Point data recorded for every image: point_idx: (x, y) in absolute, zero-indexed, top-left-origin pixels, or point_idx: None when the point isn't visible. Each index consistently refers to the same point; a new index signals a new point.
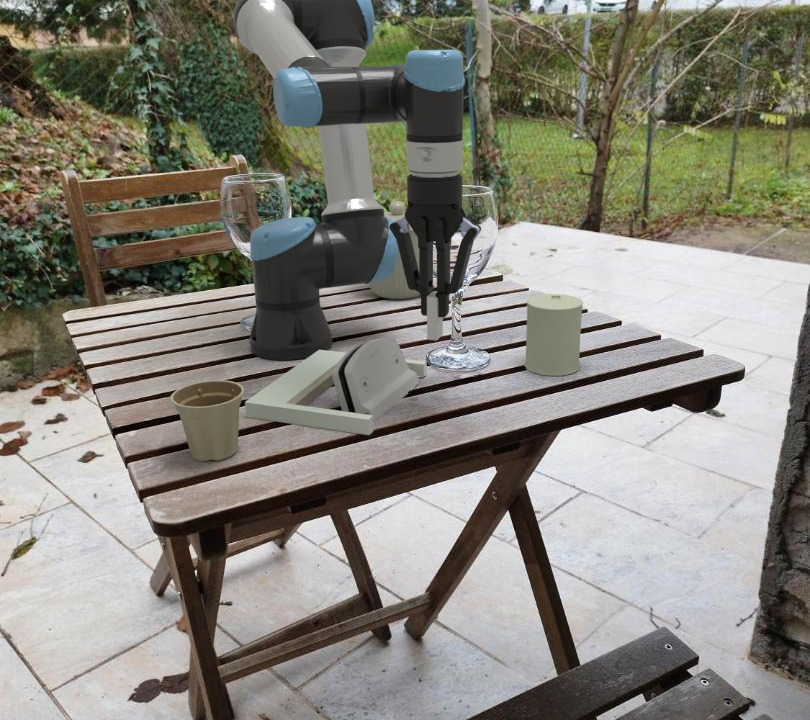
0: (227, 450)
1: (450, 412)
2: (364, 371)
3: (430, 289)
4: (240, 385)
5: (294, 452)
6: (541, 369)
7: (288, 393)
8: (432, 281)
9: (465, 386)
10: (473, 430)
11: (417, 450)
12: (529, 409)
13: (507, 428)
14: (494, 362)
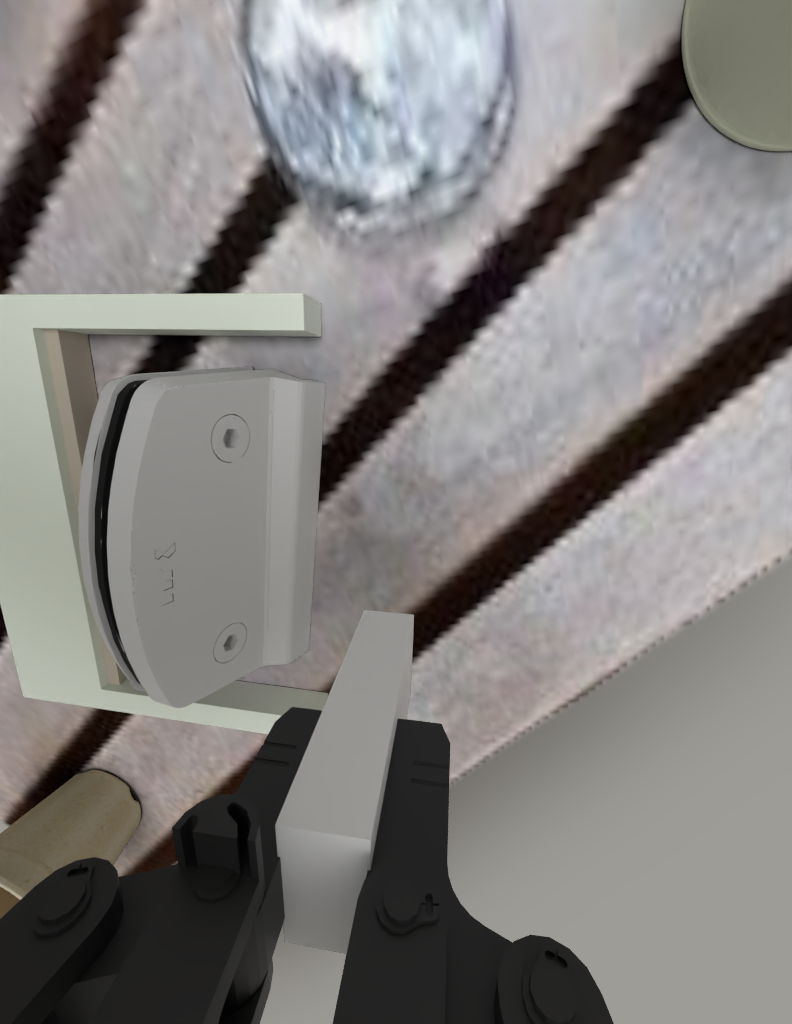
0: (131, 835)
1: (474, 567)
2: (201, 642)
3: (265, 930)
4: (16, 895)
5: (229, 788)
6: (776, 132)
7: (71, 639)
8: (227, 976)
9: (473, 368)
10: (557, 655)
11: (451, 757)
12: (710, 498)
13: (647, 630)
14: (537, 57)
